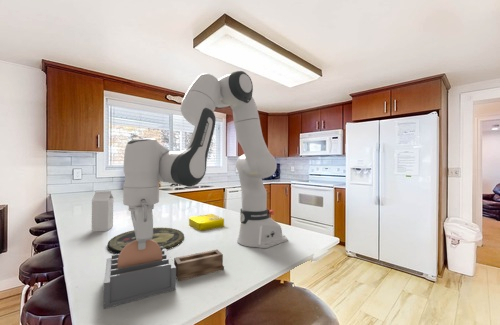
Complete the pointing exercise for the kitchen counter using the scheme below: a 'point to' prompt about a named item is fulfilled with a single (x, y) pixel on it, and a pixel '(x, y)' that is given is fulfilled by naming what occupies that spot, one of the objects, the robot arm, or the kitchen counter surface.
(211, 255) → the walnut plate stand
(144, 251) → the terracotta plate
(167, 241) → the decorative plate
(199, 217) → the element tile
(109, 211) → the milk carton
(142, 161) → the robot arm
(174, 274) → the charcoal dish rack
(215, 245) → the kitchen counter surface
